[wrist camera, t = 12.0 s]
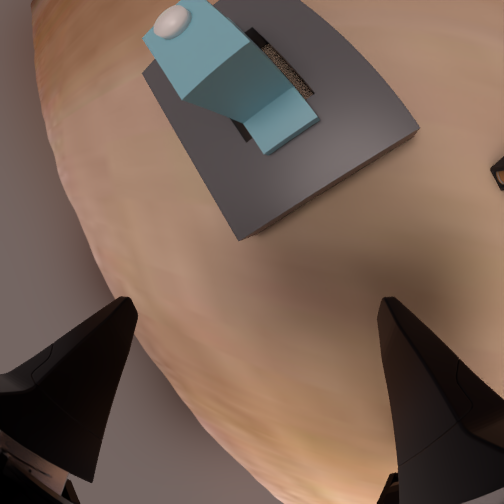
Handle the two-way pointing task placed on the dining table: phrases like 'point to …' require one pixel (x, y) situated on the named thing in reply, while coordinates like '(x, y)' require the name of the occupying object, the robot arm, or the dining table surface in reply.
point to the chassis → (307, 142)
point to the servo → (227, 73)
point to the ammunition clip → (499, 172)
